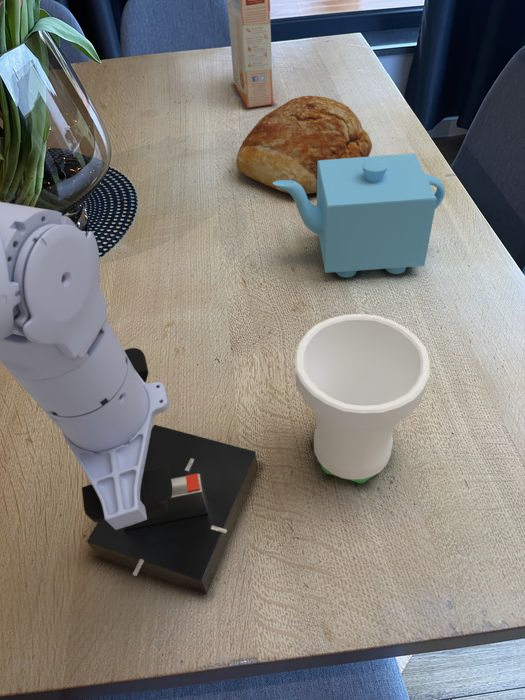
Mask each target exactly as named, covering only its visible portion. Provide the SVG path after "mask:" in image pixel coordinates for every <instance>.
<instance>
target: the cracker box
mask: <svg viewBox="0 0 525 700" xmlns="http://www.w3.org/2000/svg"><path fill="white" fill-rule="evenodd" d="M226 4H227V17H228V25H229V26H228V28H229V40H230V53H231V65H232V77H233V78H232V79H233V85H234V87H235V89H236V90H237V91H238V94H239V96H240V99H242V101H243V104H244V105H245V107H246V108H247V109H251V108H258V107H265V106H266V107H267V106H271V105H274V92H273V87H274V86H273V59H272V58H273V57H272V32H271V31H272V29H271V0H226ZM234 81H235V82H234ZM235 83H236V84H235Z"/></svg>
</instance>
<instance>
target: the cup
mask: <svg viewBox="0 0 525 700" xmlns="http://www.w3.org/2000/svg"><path fill="white" fill-rule="evenodd" d="M294 375H295V386H296V389H297V391H298V393H299V395H300V397H301V399H302V400H303V402H304V403H305V404H306V405H307V407H309V409H310V410H311V411H312V413H313V415H314V419H315V424H316V425H315V429H314V434H313V453H314V454H315V456H316V459H317V461H318V463H319V465H320V466H321V469H322V470H323V472H324V473H325V474H326V475H331V476H335V477H339V479H345V480H349V481H352V482H355V483H357V484H364V483H365V482H367V481H368V480H370V479H372V478H373V477H375V475H377V474H380V473H382V471H383V470H384V468H385V467H386V466H388V464H389V462H390V458H391V455H392V451H393V440H394V437H393V435H394V430H395V429H396V427H397V425H398V424H399V423H400V422H401V421H402V420H403V421H404V419H406V418H408V417H409V416H411V415H412V413H413V412H414V411H415V410H416V409H417V407H418V406H419V405H420V403H421V401H422V399H423V397H424V395H425V393H426V389H427V386H428V382H429V379H430V375H431V360H430V356H429V352H428V349H427V348H426V346H425V345H424V344H423V342H422V341H421V340H420V338H419V337H418V336H417V335H416V334H414V333H413V332H412V331H411V330H409V329H408V328H407V327H405V326H404V325H401V324H400V323H398V322H396V321H394V320H392V319H388V318H386V317H383V316H380V315H378V314H366V313H352V314H342V315H337V316H335V317H331V318H327V319H325V320H322V321H320V322H318V323H316V324H315V325H313V326H312V327H311V328H310V329H309V330H308V331H307V332H306V333H305V334H304V335H303V337H302V338H301V339H300V341H299V343H298V344H297V347H296V351H295V354H294Z"/></svg>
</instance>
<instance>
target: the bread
mask: <svg viewBox="0 0 525 700" xmlns="http://www.w3.org/2000/svg"><path fill="white" fill-rule="evenodd" d="M372 149H373V143H372V140H371V137H370V136H369V133H368V132H367V131H366V130H365V129H363V126H362V123H361V120H360V119H359V118H358V116H357V115H356V114H355V113H354V111H353V110H352V109H351V108H350V107H349V106H348V105H346V104H344V103H343V102H341V101H338V100H335V99H332V98H329V97H326V96H316V95H303V96H299V97H294V98H292V99H290V100H289V101H287V102H285V103H283V104H281V105H280V106H278V107H276V108H275V109H273V110H271V111H270V112H269V113H267V114H265V115H264V116H263V117H262V118H261V119H259V121H258V122H257V123H256V124H255V126H253V128H252V129H251V131H249V133H248V134H247V135H246V137H245V138H244V140H243V141H242V143H241V145H240V147H239V148H238V151H237V154H236V167H237V170H238V172H240V173H241V174H243V175H245V176H247V177H248V178H250V179H252V180H254V181H255V182H257V183H258V182H259V183H261V184H263V185H265V186H267V187H269V188H272V189H275V190H278V191H280V192H283V193H287V194H290V193H289V192H287V191H286V190H285V189H282V188H280V187H277V186H275V185H274V184H273V182H275V181H279V180H291V181H295V182H297V183H298V184H300V185H301V186H302V187H303V189H304V191H305V193H306V195H309V194H317V162H318V161H320V160H331V159H344V158H357V157H370V154H371V152H372Z"/></svg>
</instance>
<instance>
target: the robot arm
mask: <svg viewBox="0 0 525 700" xmlns="http://www.w3.org/2000/svg"><path fill="white" fill-rule="evenodd" d="M99 252H100V251H99V247H98V243H97V239H96V237H95V234H94V232H93V231H92V230H89V231H88V233H87V231H85V230H81V229H79V228H78V227H77V225H76V223H75V222H74V221H73V220H72V219H71V218H70V217H69V216H67V215H63V212H60V211H58V210H52V209H46V208H41V207H40V208H39V207H33V206H30V205H29V206H28V205H23V204H16V203H11V202H3V201H0V363H1V364H2V365H3V366H4V367H5V369H6V370H7V371H8V372H9V373H10V374H11V375H12V377H13V378H14V379H15V380H16V381H17V382H18V383H19V385H20V386H21V387H22V388H23V389H24V390H25V391H26V392H27V393H28V395H29V396H30V397H31V398H32V399H33V400H34V401H35V402H36V404H38V406H39V407H40V408H41V410H43V412H44V413H45V414H46V415H47V416H48V417H49V418H50V420H52V422H53V423H54V424H55V425H56V427H58V429H59V430H60V431H61V434H62V436H63V438H64V441H65V442H66V444H67V445H68V447H69V449H70V450H71V452H72V453H73V455H74V457H75V458H76V460H77V462H78V464H79V466H80V468H81V469H82V470H83V472H84V474H85V476H86V477H87V480H88V481H89V483H90V484H87V485H85V486H81V493H82V502H83V510H84V513H85V515H86V516H87V517H88V519H90V520H91V521H92V522H93V523H98V522H100V521H104V520H106V521H107V522H108V523H109V524H110V525H111V526H112V527H113V528H114V529H115V530H117V529H120V528H123V527H127V526H130V525H133V524H136V523H139V522H142V521H145V520H147V519H150V518H153V517H156V516H159V515H162V514H165V513H167V511H168V504H167V499H170V498H171V497H172V481H171V476H170V472H169V467H168V464H165V465H162V466H158V467H155V468H152V469H149V470H146V471H144V466H145V461H146V456H147V450H148V445H149V440H150V435H151V430H152V428H153V425H154V424H153V423H154V420H155V417H156V416H157V415H159V414H161V413H164V412H166V411H168V409H169V408H170V400H169V396H168V393H167V389H166V387H165V385H164V383H163V382H161V381H154V382H151V383H148V382H147V379H148V377H149V373H150V372H149V369H148V364H147V359H146V355H145V353H144V351H142V350H141V349H140V348H136V347H131V348H127V349H124V347H123V345H122V343H121V341H120V340H119V338H118V337H117V334H116V332H115V330H114V328H113V326H112V325H111V323H110V321H109V320H108V317H109V314H108V311H107V308H108V306H109V305H108V302H107V300H106V297H105V296H104V293H103V292H102V289H101V283H100V282H101V281H100V275H101V273H100V272H101V261H100V260H101V259H100V253H99Z"/></svg>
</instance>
